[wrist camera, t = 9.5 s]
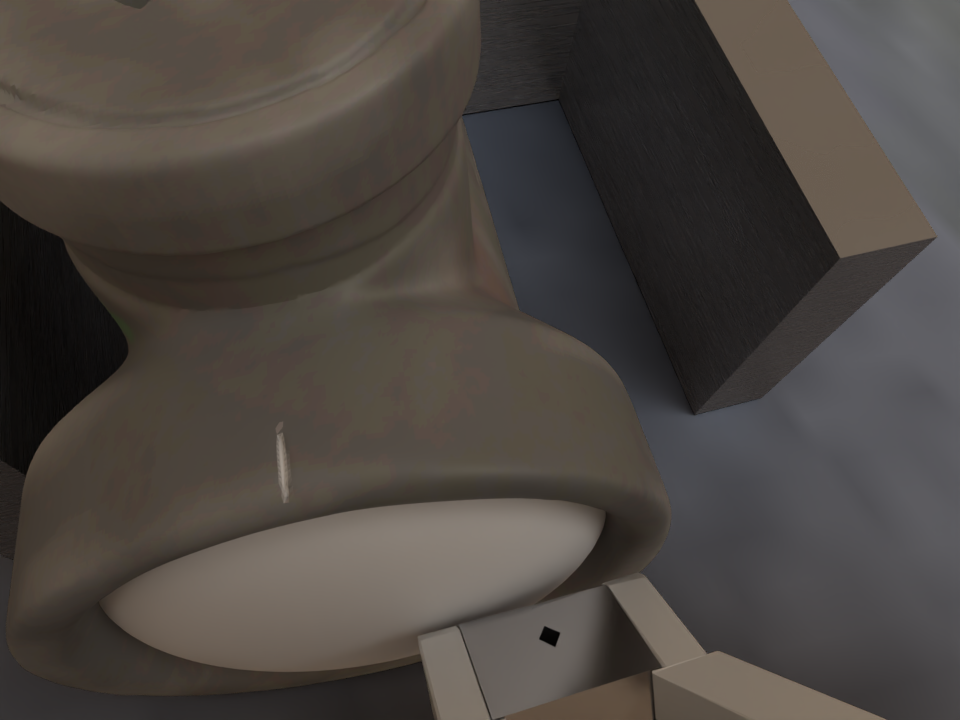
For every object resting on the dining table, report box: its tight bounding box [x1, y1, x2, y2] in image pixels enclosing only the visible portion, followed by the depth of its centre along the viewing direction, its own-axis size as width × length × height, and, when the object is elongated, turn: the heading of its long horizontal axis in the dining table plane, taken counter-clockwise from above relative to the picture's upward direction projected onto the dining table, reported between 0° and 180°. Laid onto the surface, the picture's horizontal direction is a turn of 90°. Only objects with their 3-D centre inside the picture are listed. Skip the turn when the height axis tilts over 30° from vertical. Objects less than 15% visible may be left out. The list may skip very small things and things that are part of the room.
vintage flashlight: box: [0, 0, 671, 696], centre depth 12 cm, size 12×8×10 cm
